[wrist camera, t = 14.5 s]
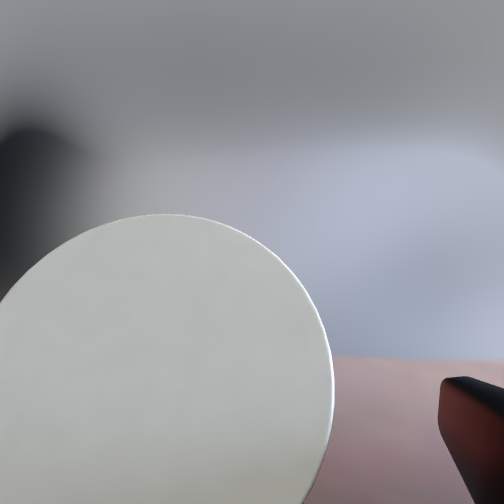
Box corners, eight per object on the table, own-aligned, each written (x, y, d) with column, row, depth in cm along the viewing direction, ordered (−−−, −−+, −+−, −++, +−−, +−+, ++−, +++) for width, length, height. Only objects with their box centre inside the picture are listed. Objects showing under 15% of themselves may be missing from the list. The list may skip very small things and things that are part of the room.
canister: (148, 497, 15) (-105, 604, 5) (163, 352, 17) (9, 211, 7) (291, 500, 15) (349, 619, 5) (289, 354, 17) (324, 212, 7)
